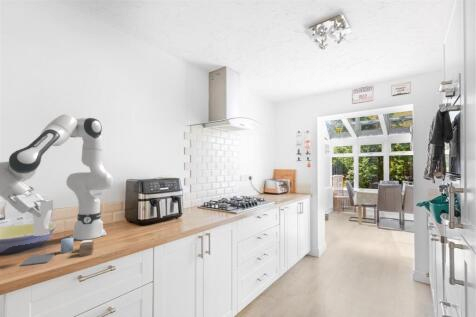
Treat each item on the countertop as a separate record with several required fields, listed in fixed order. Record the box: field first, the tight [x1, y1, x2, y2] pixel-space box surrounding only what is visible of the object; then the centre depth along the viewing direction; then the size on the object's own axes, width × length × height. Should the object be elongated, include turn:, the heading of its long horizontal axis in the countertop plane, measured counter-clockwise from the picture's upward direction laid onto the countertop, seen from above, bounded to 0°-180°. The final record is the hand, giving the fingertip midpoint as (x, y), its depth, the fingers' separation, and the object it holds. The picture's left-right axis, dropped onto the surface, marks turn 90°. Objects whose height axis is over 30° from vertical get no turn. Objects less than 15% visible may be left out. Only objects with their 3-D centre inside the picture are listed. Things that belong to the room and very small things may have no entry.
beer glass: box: [32, 199, 54, 237], centre depth 105 cm, size 7×7×15 cm
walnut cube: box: [78, 240, 95, 257], centre depth 112 cm, size 5×5×5 cm
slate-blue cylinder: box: [60, 237, 75, 254], centre depth 115 cm, size 5×5×6 cm
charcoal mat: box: [19, 252, 56, 267], centre depth 104 cm, size 12×9×1 cm
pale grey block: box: [79, 239, 93, 245], centre depth 118 cm, size 6×4×4 cm, turn 21°
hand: (44, 214), depth 106 cm, fingers closed on beer glass, 7 cm apart
